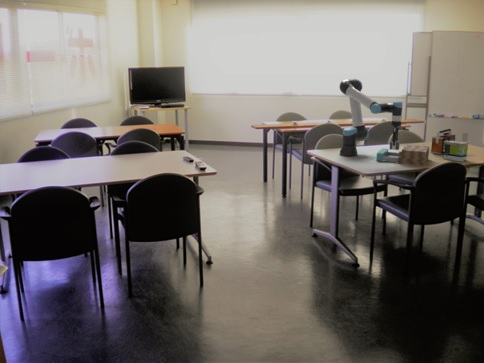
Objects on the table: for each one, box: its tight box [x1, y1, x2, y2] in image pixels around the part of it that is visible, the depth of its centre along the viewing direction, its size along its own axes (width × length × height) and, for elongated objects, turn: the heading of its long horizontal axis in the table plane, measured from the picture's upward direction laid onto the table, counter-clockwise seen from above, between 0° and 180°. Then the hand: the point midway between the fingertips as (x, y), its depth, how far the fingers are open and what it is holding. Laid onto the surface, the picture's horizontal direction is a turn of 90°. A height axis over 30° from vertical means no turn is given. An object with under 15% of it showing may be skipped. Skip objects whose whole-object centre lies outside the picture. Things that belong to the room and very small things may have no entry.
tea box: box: [443, 140, 469, 162], centre depth 411 cm, size 15×10×15 cm, turn 42°
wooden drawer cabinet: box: [397, 144, 430, 167], centre depth 403 cm, size 20×28×11 cm
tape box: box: [389, 140, 401, 151], centre depth 408 cm, size 7×5×6 cm
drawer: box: [375, 147, 399, 163], centre depth 410 cm, size 23×24×6 cm
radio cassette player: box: [430, 128, 456, 155], centre depth 442 cm, size 29×10×20 cm, turn 137°
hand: (394, 148), depth 409 cm, fingers closed on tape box, 5 cm apart
